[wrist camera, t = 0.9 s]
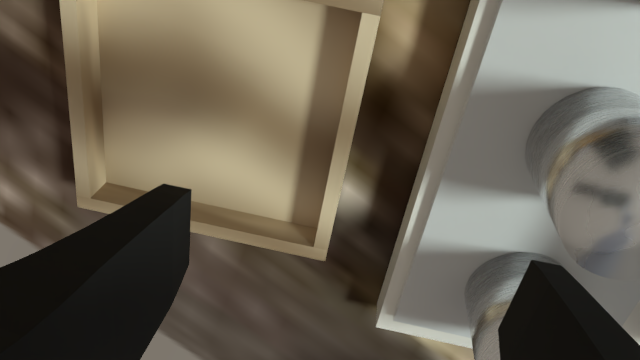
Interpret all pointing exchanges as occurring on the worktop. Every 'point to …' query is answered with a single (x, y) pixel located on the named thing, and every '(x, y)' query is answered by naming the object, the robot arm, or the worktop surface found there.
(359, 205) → the worktop surface
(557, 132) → the spacer
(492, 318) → the cylinder
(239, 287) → the worktop surface
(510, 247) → the scale
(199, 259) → the worktop surface
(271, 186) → the tray
